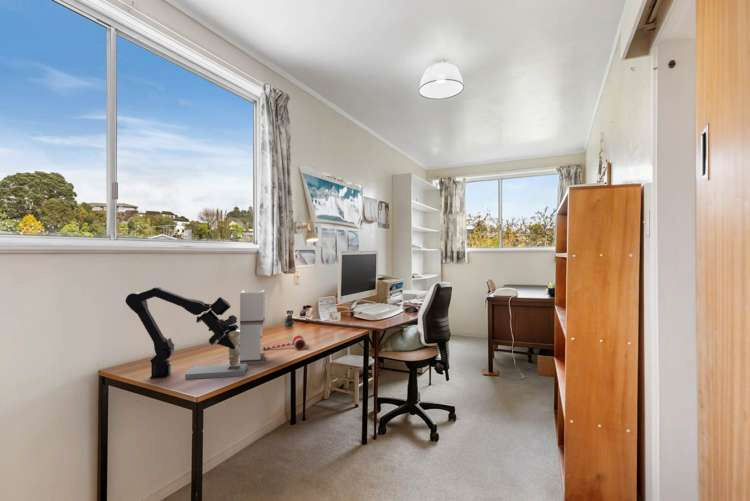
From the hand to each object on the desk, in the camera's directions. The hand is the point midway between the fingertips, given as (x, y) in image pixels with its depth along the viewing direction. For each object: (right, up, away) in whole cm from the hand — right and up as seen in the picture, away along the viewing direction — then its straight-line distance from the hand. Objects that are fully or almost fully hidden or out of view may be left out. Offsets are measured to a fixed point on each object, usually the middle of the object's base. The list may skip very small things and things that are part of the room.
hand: (236, 347), depth 168 cm
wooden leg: (-1, -8, 0) cm, 8 cm away
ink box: (-11, -12, +34) cm, 37 cm away
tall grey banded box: (+1, -12, +18) cm, 21 cm away
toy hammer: (+14, -12, +42) cm, 45 cm away
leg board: (-8, -11, -1) cm, 14 cm away
